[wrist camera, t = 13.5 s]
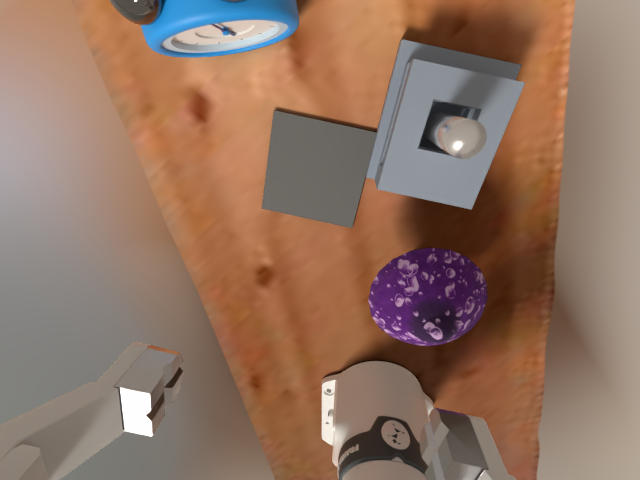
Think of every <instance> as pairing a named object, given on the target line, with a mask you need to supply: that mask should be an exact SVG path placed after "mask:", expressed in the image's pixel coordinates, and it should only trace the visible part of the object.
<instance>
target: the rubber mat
mask: <svg viewBox="0 0 640 480" xmlns="http://www.w3.org/2000/svg"><path fill="white" fill-rule="evenodd" d="M376 134H377V132H373V131H368V130H364V129H359V128H354V127H350V126H345V125H340V124H336V123H331V122H327V121H322V120H317V119H313V118H308V117H303V116H299V115H294V114H289V113H285V112H280V111H275V110H274V113H273V122H272V130H271V138H270V146H269V154H268V163H267V171H266V179H265V187H264V195H263V204H262V209H267V210H271V211H276V212H280V213H285V214H290V215H294V216H299V217H303V218H308V219H313V220H317V221H322V222H326V223H331V224H336V225H340V226H345V227H349V228H352V227H353V223H354V219H355V215H356V211H357V207H358V204H359V200H360V196H361V192H362V188H363V184H364V180H365V177H366V173H367V169H368V165H369V161H370V157H371V153H372V149H373V146H374V142H375V138H376Z"/></svg>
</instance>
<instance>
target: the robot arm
mask: <svg viewBox="0 0 640 480" xmlns="http://www.w3.org/2000/svg"><path fill="white" fill-rule="evenodd" d="M182 362H183V354H182V353H180V352H176V351H172V350H168V349H164V348H160V347H156V346H152V345H148V344H144V343H139V342H134V343H132V344H131V345H129V347H128V348H127V349H126V350H125V351H124V352H123V353H122V354H121V355H120V357H119V358H118V359H117V360H116V361H115V362H114V363H113V364H112V365H111V366H110V367H109V368H108V369H107V371H106V372H105V373H104V374H103V375H102V376H101V377H100V378H99V379H98V380H97V381H96V383H92V382H89V383H87V384H85V385H83V386H81V387H79V388H77V389H74V390H72V391H70V392H68V393H66V394H64V395H62V396H60V397H58V398H56V399H53V400H52V401H49V402H47V403H45V404H43V405H41V406H39V407H37V408H34V409H32V410H30V411H28V412H26V413H24V414H22V415H20V416H18V417H15V418H13V419H11V420H9V421H7V422H5V423H3V424H1V425H0V480H59V479H61V478H62V477H64V476H65V475H66V474H68V473H69V472H70V471H72V470H73V469H75V468H76V467H77V466H79V465H80V464H81V463H83V462H84V461H86V460H87V459H88V458H90V457H91V456H92V455H94V454H95V453H96V452H98V451H99V450H101V449H102V448H103V447H105V446H106V445H107V444H109V443H110V442H112V441H113V440H114V439H116V438H117V437H118V436H120V435H121V434H122V433H123V431H126V432H132V433H137V434H142V435H148V436H153V434H154V433H155V431H156V429H157V428H158V426H159V424H160V423H161V421H162V419H163V418H164V416H165V407H166V406H167V405H169V404H171V403H172V402H173V401H174V399H175V397H176V396H177V394H178V392H179V389H180V386H181V384H182V379H183V370H182V369H181V368H180V365H181V364H182ZM429 418H430V421H429ZM322 439H323V440H324V441H326V442H327V443H328V444H330V445H332V446H333V454H332V461H333V463H334V464H335V466H337V467H338V478H339V480H517V479H516V478H515V477H514V476H512V475H508V473H507V471H506V468H505V466H504V464H503V461H502V459H501V457H500V454H499V452H498V450H497V447H496V445H495V442H494V440H493V438H492V435H491V433H490V431H489V428H488V426H487V424H486V422H485V420H484V419H483V418H479V417H475V416H470V415H465V414H462V413H457V412H452V411H447V410H442V409H438V408H434V406H433V401H432V400H431V399H430V398H429V397H428V396H427V395H426V394H425V393H424V392H423V391H422V388H421V386H420V383H419V381H418V380H417V378H416V377H415V376H414V375H413V374H412V373H411V372H410V371H408V370H407V369H405V368H403V367H401V366H399V365H396V364H393V363H389V362H383V361H369V362H363V363H359V364H356V365H354V366H351V367H350V368H348V369H346V370H345V371H343V372H341V373H339V374H336V375H331V376H328V377H325V378H324V379H323V380H322Z"/></svg>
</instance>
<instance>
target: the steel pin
mask: <svg viewBox="0 0 640 480" xmlns="http://www.w3.org/2000/svg"><path fill="white" fill-rule="evenodd" d="M423 135H424V137H425V138H426V139H427V140H429V141H430V142H432V143H433V144H435V145H437V146H438V147H440V148H441V149H443V150H444V151H446V152H448V153H449V154H451V155H452V156H454V157H456V158H458V159H468V158H471V157H474V156H475V155H477V154H478V153H479V152H480V151H481V150H482V149H483V147H484V145H485V143H486V139H487V133H486V129H485V127H484V126H483V125H482V124H481V123H480V122H478V121H476V120H472V119H468V118H463V117H459V116H454V115H450V114H445V113H441V112H437V113H433V114H431V115H430V116H428V118H427V121H426V125H425V128H424V131H423Z"/></svg>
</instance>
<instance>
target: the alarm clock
mask: <svg viewBox="0 0 640 480" xmlns="http://www.w3.org/2000/svg"><path fill="white" fill-rule="evenodd" d="M109 1H110V2H111V4H112V5H113V6H114V8H115V9H116V10H117V11H118V12H119V13H120V14H121V15H122V16H123V17H125V18H126V19H127V20H129V21H131V22H133V23H135V24H139V25H141V27H142V30H143V33H144V36H145V39H146V42H147V44H148V46H149V47H150V48H151V49H152V50H154V51H156V52H158V53H160V54H163V55H167V56H173V57H212V56H221V55H229V54H235V53H241V52H246V51H250V50H254V49H258V48H262V47H265V46H268V45H271V44H274V43H277V42H279V41H281V40H284V39H286V38H287V37H289V36H290V35H292V34H293V33H294V32H295V31H296V30H297V28H298V25H299V15H298V9H297V3H296V0H109Z"/></svg>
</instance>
